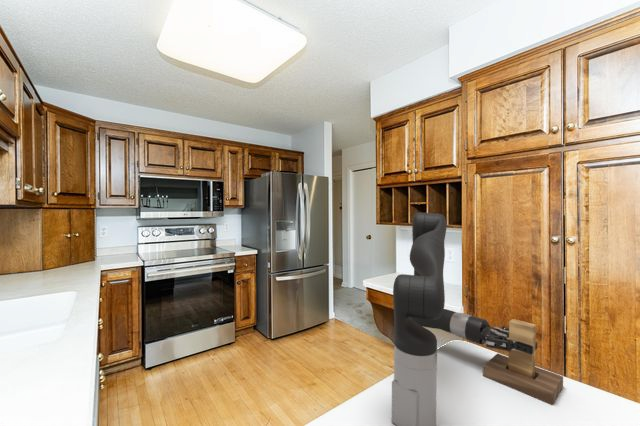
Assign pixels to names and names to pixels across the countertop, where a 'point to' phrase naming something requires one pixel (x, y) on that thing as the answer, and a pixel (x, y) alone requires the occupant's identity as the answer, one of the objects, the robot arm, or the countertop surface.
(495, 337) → the robot arm
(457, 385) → the countertop surface
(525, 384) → the base board
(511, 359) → the plank
